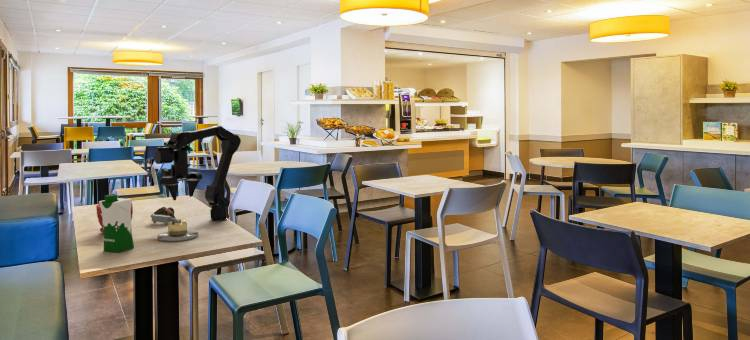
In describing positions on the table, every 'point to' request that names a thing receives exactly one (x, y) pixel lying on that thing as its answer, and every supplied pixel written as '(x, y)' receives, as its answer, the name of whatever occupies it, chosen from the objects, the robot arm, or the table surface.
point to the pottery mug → (164, 212)
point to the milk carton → (116, 223)
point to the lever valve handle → (171, 224)
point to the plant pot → (101, 216)
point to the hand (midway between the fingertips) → (182, 198)
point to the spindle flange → (177, 238)
